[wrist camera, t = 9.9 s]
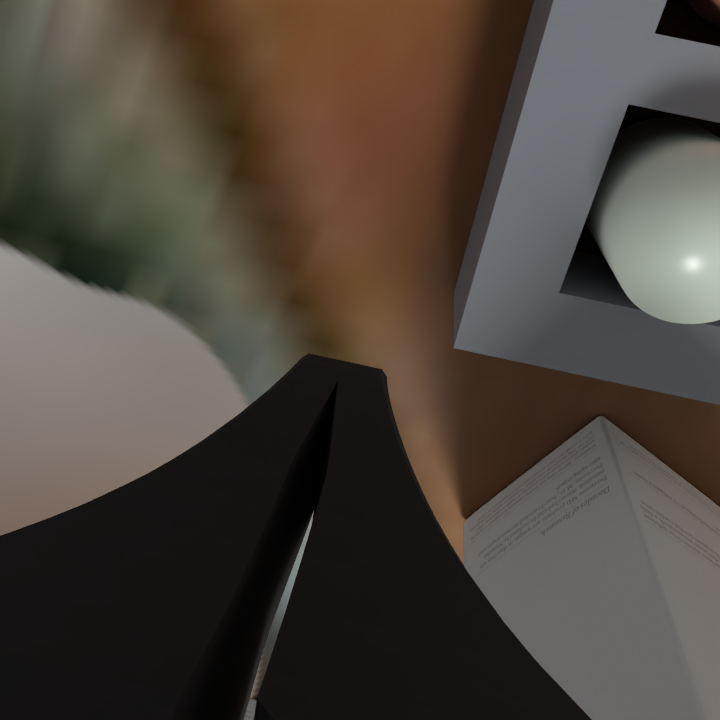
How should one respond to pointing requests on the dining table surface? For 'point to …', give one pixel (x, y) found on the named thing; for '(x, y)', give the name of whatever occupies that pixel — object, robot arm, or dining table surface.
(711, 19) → the plug rust
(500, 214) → the socket board
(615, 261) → the plug sage
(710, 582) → the supplement box
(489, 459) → the dining table surface
